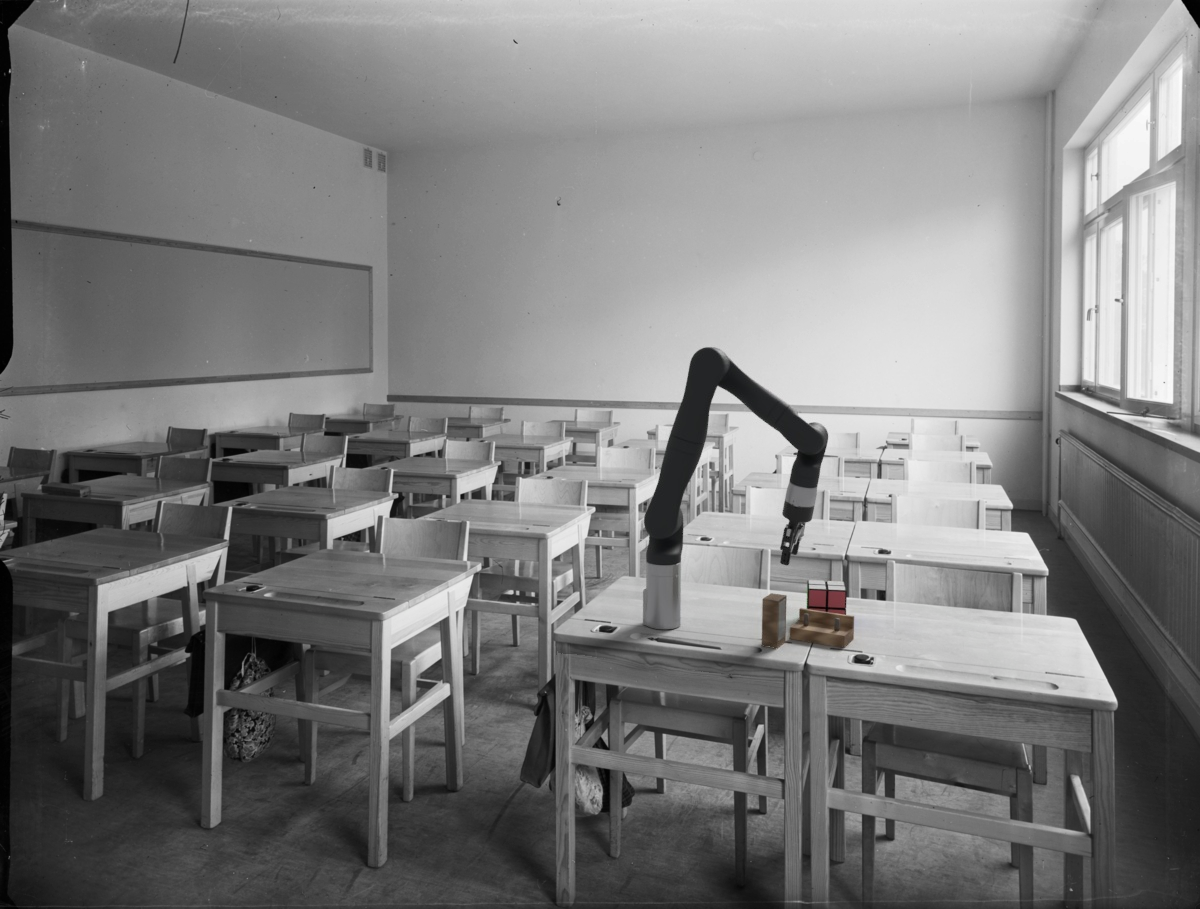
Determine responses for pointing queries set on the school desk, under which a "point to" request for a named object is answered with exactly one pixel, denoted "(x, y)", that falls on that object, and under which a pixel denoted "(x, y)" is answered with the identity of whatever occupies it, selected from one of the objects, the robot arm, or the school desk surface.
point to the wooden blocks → (774, 620)
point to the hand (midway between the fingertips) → (788, 559)
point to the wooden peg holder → (823, 628)
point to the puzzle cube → (826, 596)
